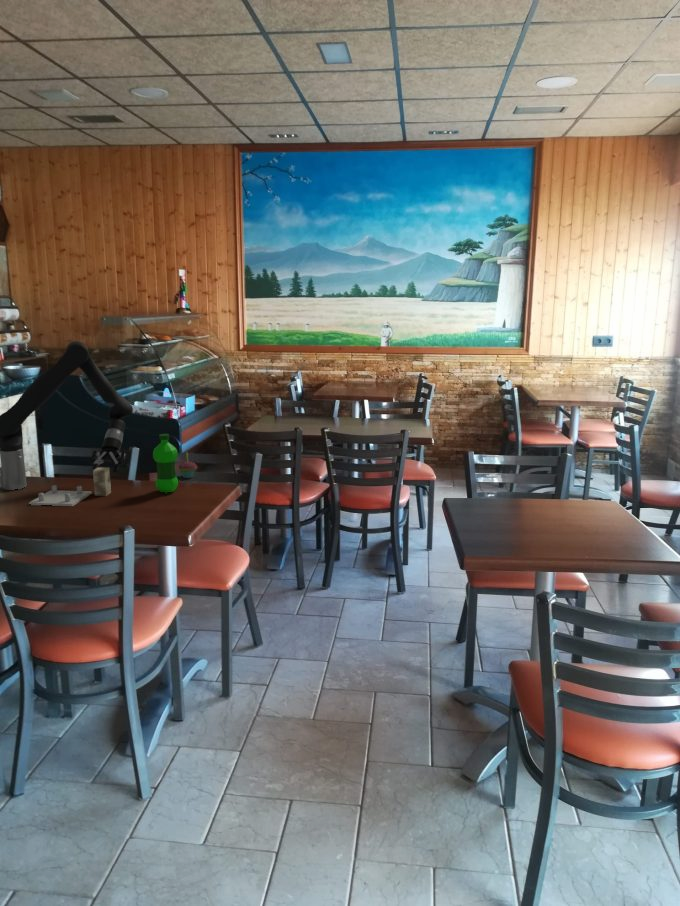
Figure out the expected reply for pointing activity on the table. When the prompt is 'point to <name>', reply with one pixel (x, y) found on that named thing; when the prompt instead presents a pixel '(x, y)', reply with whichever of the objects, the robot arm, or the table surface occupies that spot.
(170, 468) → the plastic bottle
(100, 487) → the birch block
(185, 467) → the cupcake
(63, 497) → the peg plate
